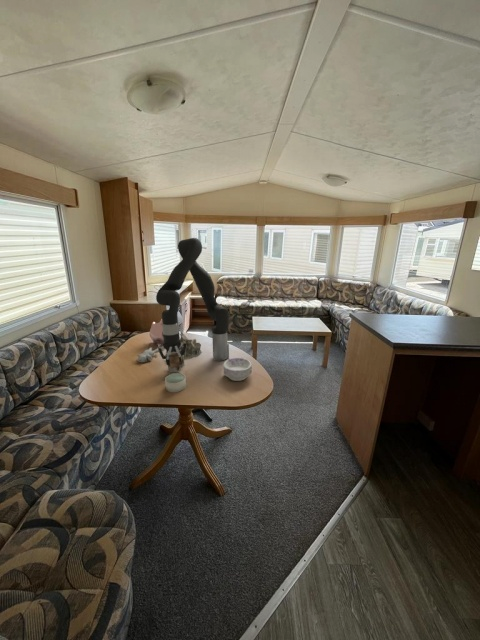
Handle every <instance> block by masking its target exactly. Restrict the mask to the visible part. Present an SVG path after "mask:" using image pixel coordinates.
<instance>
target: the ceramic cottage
mask: <svg viewBox="0 0 480 640" xmlns="http://www.w3.org/2000/svg"><path fill="white" fill-rule="evenodd" d="M179 336H180V340H183V342H185V343H186V349H185V354H184V361H185V360H187V359H189V360H190V359H192V358H196V357H199V356H201V354H202V349H201V346H202V345H201V343H200V342H197V339H196V338H193V339H188V337H187V336H186V334H184V332H183V331H180V333H179Z"/></svg>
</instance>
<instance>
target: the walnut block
mask: <svg viewBox="0 0 480 640" xmlns="http://www.w3.org/2000/svg"><path fill="white" fill-rule="evenodd" d="M169 362H170V366H169V367H170V368H171V369H172V368H176V367H180V363H179V355H178V354H177V353H176V352H175V353H170V356H169Z"/></svg>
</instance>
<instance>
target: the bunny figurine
mask: <svg viewBox="0 0 480 640" xmlns="http://www.w3.org/2000/svg"><path fill="white" fill-rule="evenodd" d="M155 353H159V350H158V348H155V349H154V350H153V347H149V348H148V349H145V350H143V351H142V353H138V354H137V362H138V363H147V361H151V360H153V358H154V355H155Z"/></svg>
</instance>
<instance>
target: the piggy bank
mask: <svg viewBox="0 0 480 640" xmlns="http://www.w3.org/2000/svg"><path fill="white" fill-rule="evenodd" d="M162 326H163V323H162V319H161V320H160V321H159V322H156V321H152V323H151V326H150V327H151V328H150V330H149V338H150V339H151V341H152V344H153V345H157V348H158V347H161V346H163V344H164V339H163V329H162Z"/></svg>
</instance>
